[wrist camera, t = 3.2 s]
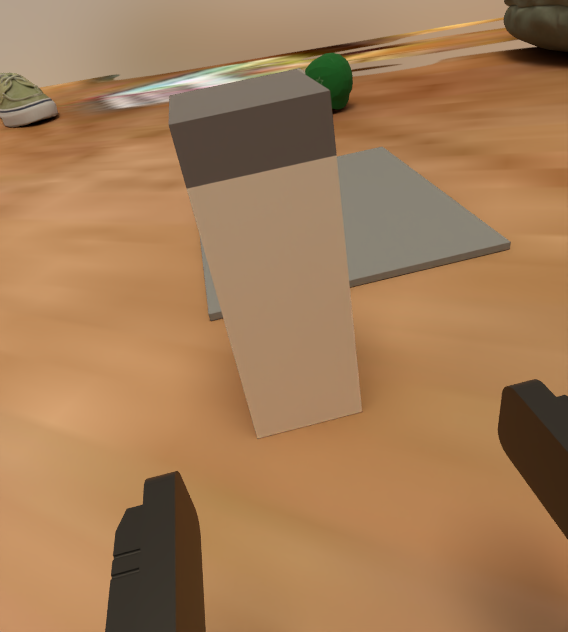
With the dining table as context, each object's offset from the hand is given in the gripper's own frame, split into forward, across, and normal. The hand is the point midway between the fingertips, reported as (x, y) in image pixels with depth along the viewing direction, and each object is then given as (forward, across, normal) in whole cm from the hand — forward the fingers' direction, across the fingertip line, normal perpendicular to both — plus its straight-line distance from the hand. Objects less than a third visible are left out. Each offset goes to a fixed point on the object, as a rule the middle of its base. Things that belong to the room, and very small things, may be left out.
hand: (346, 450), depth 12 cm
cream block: (+11, 0, +8) cm, 13 cm away
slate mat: (+31, -6, +8) cm, 32 cm away
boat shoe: (+114, +39, +8) cm, 121 cm away
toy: (+67, -14, +8) cm, 69 cm away
